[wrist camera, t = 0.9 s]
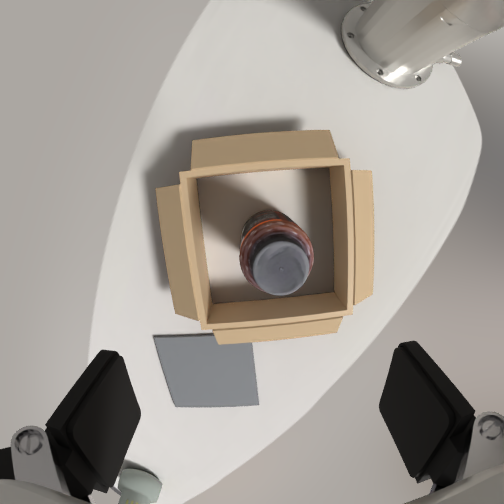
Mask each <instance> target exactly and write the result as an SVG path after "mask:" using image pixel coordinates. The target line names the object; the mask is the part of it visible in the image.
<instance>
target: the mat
mask: <svg viewBox="0 0 504 504" xmlns="http://www.w3.org/2000/svg"><path fill="white" fill-rule="evenodd" d="M154 340H155V343H156V347H157V351H158V354H159V358H160V361H161V364H162V368H163V371H164V374H165V377H166V380H167V384H168V387H169V390H170V393H171V396H172V399H173V401H174V404H175V407H236V406H253V405H259V399H258V391H257V382H256V373H255V364H254V356H253V347H252V342H250V343H237V344H221V345H218V342H217V340H216V338H215V335H214V334H210V335H188V336H155V337H154Z"/></svg>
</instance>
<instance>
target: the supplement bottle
mask: <svg viewBox="0 0 504 504" xmlns="http://www.w3.org/2000/svg"><path fill="white" fill-rule="evenodd" d="M239 259H240V265H241V269H242V272H243V274H244V276H245V277H246V279H247V280H248V281H249V283H250V284H252V285H253V286H254V287H256V288H257V289H259V290H261V291H263V292H267V293H269V294H272V295H280V296H282V295H288V294H291V293H293V292H295V291H296V290H298V289H299V288H300V287H302V285H303V284H304V282H305V281H306V279H307V277H308V275H309V274H310V271H311V269H312V266H313V261H314V251H313V247H312V244H311V241H310V239H309V237H308V236H307V234H306V233H305V232H304V231H303V230H302V229H301V228H300V227H299V226H298V225H297V224H296V223H295V222H294V221H292V220H291V219H290V218H289V217H288V216H286V215H285V214H283V213H280V212H277V211H272V210H267V211H262V212H259V213H257V214H255V215H254V216H252V217H251V218H250V219H249V220H248V221H247V222H246V224H245V226H244V228H243V230H242V235H241V244H240V255H239Z"/></svg>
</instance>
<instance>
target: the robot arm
mask: <svg viewBox="0 0 504 504" xmlns="http://www.w3.org/2000/svg"><path fill="white" fill-rule="evenodd" d="M502 27H504V0H373V1H372V2H371V3H369V4H361V5H357V6H356V7H354V8H352V9H351V10H350V11H349V12H348V13H347V14H346V16H345V17H344V19H343V22H342V27H341V33H342V39H343V42H344V45H345V47H346V49H347V51H348V52H349V54H350V56H351V57H352V58H353V60H354V61H355V62H356V64H357V65H358V66H359V67H360V68H362V69H363V70H364V71H365V72H366V73H367V74H369V75H370V76H371V77H372V78H374V79H376V80H378V81H379V82H381V83H383V84H386V85H388V86H391V87H395V88H400V89H409V88H414V87H416V86H419V85H421V84H422V83H424V82H425V81H426V80H427V79H428V78H429V77H430V74H431V72H432V68H433V64H435V63H439V64H441V63H443V62H445V63H446V64H450V65H453V66H456V67H459V66H460V65H461V57H460V55H458V54H456V53H453V52H454V51H456V50H458V49H460V48H462V47H463V46H465V45H467V44H469V43H471V42H473V41H475V40H477V39H479V38H481V37H483V36H486V35H488V34H490V33H492V32H494V31H496V30H498V29H501V28H502ZM379 409H380V412H381V414H382V417H383V419H384V421H385V423H386V425H387V427H388V429H389V431H390V433H391V435H392V437H393V439H394V442H395V444H396V446H397V448H398V450H399V453H400V455H401V457H402V459H403V461H404V463H405V466H406V468H407V470H408V472H409V474H410V476H411V477H413V478H414V477H415V479H416V481H417V483H420V482H423V481H425V480H428V479H432V481H433V485H432V488H431V491H430V493H429V494H428V495H426V496H423V497H421V498H418V499H415V500H413V501H410V502H407V503H404V504H504V416H502V415H500V414H499V413H496V412H484V413H482V414H480V415H479V416H478V417H477V418H476V417H475V416H474V413H475V410H474V409H473V407H472V406H471V405H470V404H469V402H468V401H467V400H466V399H465V398H464V396H463V395H462V394H461V393H460V391H459V390H458V389H457V388H456V387H455V385H454V384H453V383H452V382H451V381H450V379H449V378H448V377H447V376H446V375H445V373H444V372H443V371H442V370H441V369H440V368H439V367H438V365H437V364H436V363H435V362H434V361H433V359H432V358H431V357H430V356H429V355H428V354H427V353H426V352H425V350H424V349H423V348H422V347H421V346H420V345H419V344H418V343H417V342H416V341H409V342H404V343H400V344H399V346H398V348H396V349H395V350H394V353H393V357H392V361H391V365H390V369H389V373H388V376H387V380H386V383H385V386H384V390H383V393H382V396H381V399H380V403H379ZM140 417H141V410H140V407H139V405H138V402H137V399H136V396H135V393H134V390H133V387H132V385H131V381H130V378H129V375H128V372H127V369H126V366H125V362H124V359H123V357H122V356H119V354H118V352H116V351H109V350H101V351H100V352H99V353H98V354H97V355H96V357H95V358H94V359H93V361H92V362H91V363H90V364H89V366H88V367H87V368H86V370H85V371H84V372H83V374H82V375H81V376H80V378H79V379H78V380H77V382H76V383H75V384H74V386H73V387H72V388H71V390H70V391H69V392H68V394H67V395H66V396H65V398H64V399H63V401H62V402H61V403H60V405H59V406H58V407H57V409H56V410H55V412H54V413H53V415H52V416H51V417H50V419H49V420H48V421H47V423H46V424H45V425H46V426H47V428H46V430H45V431H44V430H43V429H41V428H39V427H37V426H26V427H23V428H21V429H19V430H18V431H17V432H16V433H15V434H14V435H13V437H12V440H11V447H8V448H5V449H0V504H95V502H94V500H93V498H92V495H91V493H92V491H93V489H95V490H98V491H101V492H104V493H107V491H108V489H109V487H113V485H114V484H115V481H116V478H117V476H118V473H119V471H120V468H121V465H122V463H123V460H124V458H125V455H126V453H127V450H128V448H129V445H130V443H131V440H132V438H133V435H134V433H135V430H136V428H137V425H138V423H139V420H140Z"/></svg>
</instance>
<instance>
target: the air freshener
mask: <svg viewBox="0 0 504 504" xmlns="http://www.w3.org/2000/svg"><path fill="white" fill-rule="evenodd" d="M161 488H162V483H161V482H160V481H159V480H158V479H157V478H156V477H154V476H153V475H151V474H149V473H147V472H145V471H142V470H138V469H123V470H122V473H121V476H120V479H119V483H118V489H119V490H120V491H121V492H122V494H121V497H120V500H119V503H118V504H150V503H155V502H157V500H158V497H159V494H160V491H161Z"/></svg>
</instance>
